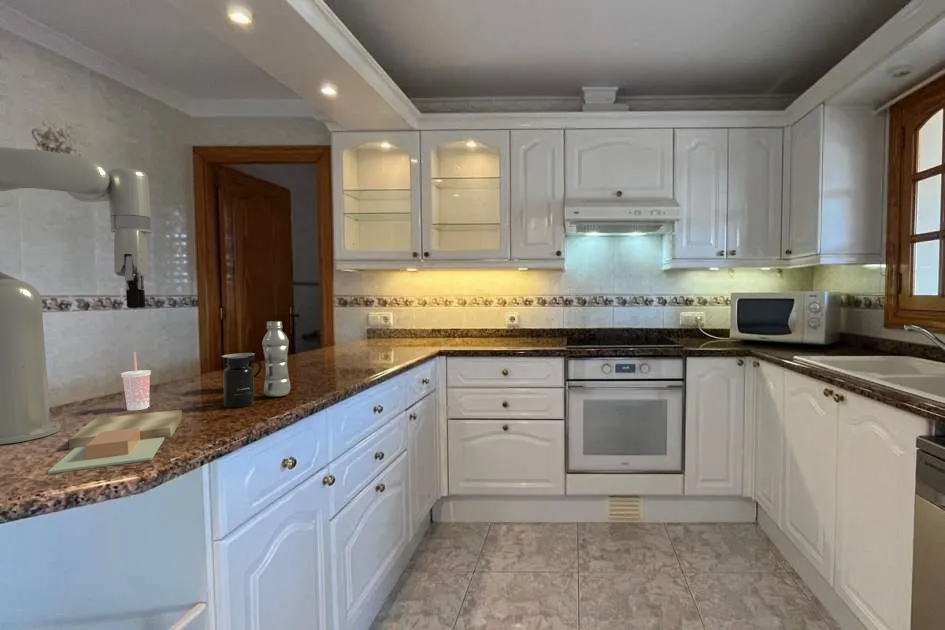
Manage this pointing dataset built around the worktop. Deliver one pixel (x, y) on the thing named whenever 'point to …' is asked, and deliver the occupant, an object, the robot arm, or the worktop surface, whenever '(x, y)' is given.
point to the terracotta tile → (113, 443)
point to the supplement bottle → (238, 383)
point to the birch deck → (130, 426)
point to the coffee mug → (249, 355)
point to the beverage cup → (136, 388)
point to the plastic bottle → (276, 360)
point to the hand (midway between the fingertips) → (136, 307)
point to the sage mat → (78, 457)
